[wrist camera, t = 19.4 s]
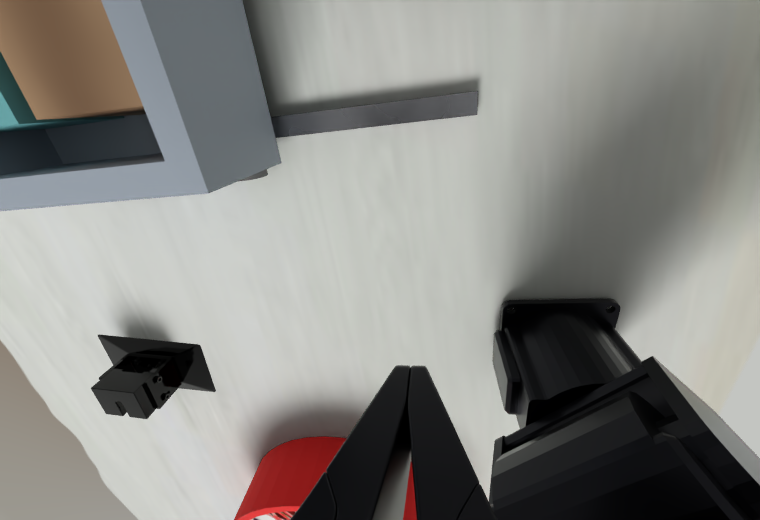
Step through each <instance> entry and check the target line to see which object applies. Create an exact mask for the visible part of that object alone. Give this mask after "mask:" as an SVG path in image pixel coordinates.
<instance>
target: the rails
mask: <svg viewBox="0 0 760 520" xmlns="http://www.w3.org/2000/svg"><path fill="white" fill-rule="evenodd" d="M477 101H478V91H473V92H465V93H458V94H450V95H442V96H434V97H426V98H418V99H410V100H403V101H395V102H387V103H379V104H371V105H363V106H355V107H347V108H340V109H332V110H324V111H316V112H308V113H300V114H292V115H285V116H277V117H271V121H272V126H273V130H274V134H275V138H278V137H287V136H296V135H305V134H313V133H322V132H331V131H339V130H348V129H357V128H366V127H374V126H383V125H392V124H400V123H409V122H418V121H427V120H435V119H444V118H453V117H461V116H470V115H477Z"/></svg>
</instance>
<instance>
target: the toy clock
mask: <svg viewBox="0 0 760 520" xmlns="http://www.w3.org/2000/svg"><path fill="white" fill-rule="evenodd" d="M346 439H347V438H340V437H325V436H323V437H306V438H301V439H296V440H291V441H289V442H286V443H283V444H281V445H278V446H277V447H275V448H274V449H272V450H271V451H269V452H268V453H267V454H266V455H265V456H264V457H263V459H262V460H261V462H260V465H259V467H258V469H257V471H256V473H255V475H254V478H253V480H252V482H251V484H250V486H249V488H248V491H247V493H246V495H245V497H244V499H243V501H242V504H241V506H240V508H239V510H238V512H237V514H236V517H235V519H234V520H290V519H291V518H292V516H293V515H294V514H295V513H296V511H297V510H298V509H299V507H300V506H301V504H302V503H303V502H304V500H305V499H306V497H307V496H308V495H309V493H310V492H311V490H312V489H313V488H314V486H315V485H316V483H317V482H318V480H319V479H320V477H321V476H322V474H323V473H324V472H326V469H327V467H328V466H329V464H330V463H331V461H332V460H333V458H334V457H335V455H336V454H337V452H338V451H339V449H340V448H341V446H342V445H343V443H344V442H345V440H346ZM326 473H327V472H326ZM403 520H417V516H416V504H415V493H414V481H413V469H412V462H410V470H409V478H408V485H407V493H406V500H405V508H404V515H403Z"/></svg>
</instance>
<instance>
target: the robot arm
mask: <svg viewBox="0 0 760 520" xmlns="http://www.w3.org/2000/svg"><path fill="white" fill-rule="evenodd" d="M609 306H612V307H611V308H609V309H606V308H607V307H609ZM510 307H513V308H514V309H512V310H507V309H508V308H510ZM619 312H620V306H619V304H618V303H617V302H616V301H615V300H613V299H554V300H509V301H506V302H504V303H503V304H502V307H501V321H500V330H497V331H496V332H495V333H494V345H493V365H494V369H495V373H496V377H497V381H498V385H499V390H500V394H501V398H502V402H503V406H504V410H505V411H506V412H507V413H508V414H516V416H517V420H518V424H519V427H520V430H518V431H516V432H514V433H512V434H510V435H508V436H507V437H505V436H502V437H500V438H498V439H496V440H495V444H494V454H493V465H492V475H491V485H490V496H489V502H488V500H487V497H486V495H485V493H484V491H483V489H482V487H481V485H480V484H479V480H478V478H477V476H476V474H475V472H474V470H473V467H472V465H471V463H470V461H469V459H468V457H467V454H466V452H465V450H464V448H463V446H462V443H461V441H460V439H459V437H458V435H457V433H456V430H455V428H454V426H453V424H452V422H451V420H450V417H449V415H448V413H447V411H446V409H445V407H444V404H443V402H442V400H441V398H440V396H439V394H438V391H437V389H436V387H435V385H434V383H433V381H432V378H431V376H430V374H429V372H428V370H427V368H426V367H425V366H412V367H411V368H410V366H403V365H397V366H395V368H394V369H393V370H392V372H391V373H390V375H389V376H388V378H387V379H386V381H385V382H384V384H383V385H382V387H381V388H380V390H379V391H378V393H377V394H376V396H375V397H374V399H373V400H372V402H371V403H370V405H369V406H368V408H367V409H366V411H365V412H364V413H363V415H362V416H361V418H360V419H359V421H358V422H357V424H356V425H355V427H354V428H353V430H352V431H351V433H350V434H349V436H348V437H347V439H346V440H345V442H344V443H343V445H342V446H341V448H340V449H339V451H338V452H337V454H336V455H335V457H334V458H333V460H332V461H331V463H330V464H329V466H328V467H327V469H326V472H327V473H326V472H324V473H323V474H322V476H321V477H320V479H319V480H318V482H317V483H316V485H315V486H314V488H313V489H312V490H311V492H310V493H309V495H308V496H307V497H306V499H305V500H304V502H303V503H302V504H301V506H300V507H299V509H298V510H297V511H296V513H295V514H294V515H293V516H292V518H291V519H290V520H403V515H404V508H405V500H406V493H407V485H408V478H409V470H410V462H411V457H412V469H413V481H414V493H415V504H416V516H417V520H760V458H759V457H758V456H757V455H756V454H755V453H754V452H753V451H752V450H751V449H750V448H749V447H748V446H747V445H746V444H745V443H744V441H743V440H742V439H741V438H740V437H739V436H738V435H737V434H736V433H735V432H734V431H733V430H732V429H731V428H730V427H729V426H728V425H727V424H726V423H725V422H724V421H723V420H722V419H721V417H720V416H719V415H718V414H717V413H716V412H715V411H714V410H713V409H711V408H710V407H709V406H708V405H707V404H706V403H705V402H704V401H702V400H701V399H700V398H699V397H698V396H697V395H696V394H695V393H693V392H692V391H691V390H690V389H689V388H688V387H687V386H686V385H685V384H683V383H682V382H681V381H680V380H679V379H678V378H677V377H676V376H674V375H673V374H672V373H671V372H670V371H669V370H668V369H667V368H665V367H664V366H663V365H662V364H661V363H660V362H659V361H658V360H657V359H655V358H654V357H653V356H652V357H650V358H648V359H646V360H644V361H641V360H640V359H639V358H638V356H637V355H636V354H635V353H634V352H633V350H632V349H631V348H630V347H629V345H628V344H627V343H626V342H625V341H624V339H623V338H622V337H621V336H620V334H619V333H618V332H617V331H616V330H615V327H616V323H617V320H618V316H619Z"/></svg>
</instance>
